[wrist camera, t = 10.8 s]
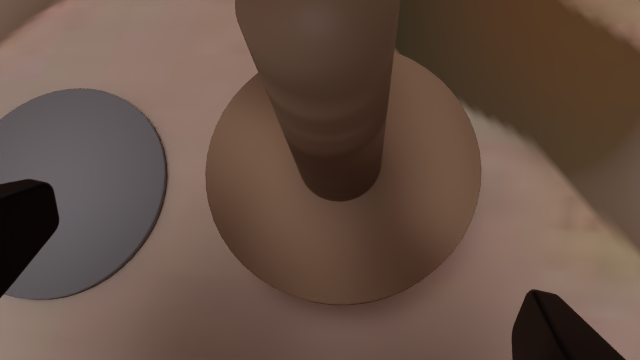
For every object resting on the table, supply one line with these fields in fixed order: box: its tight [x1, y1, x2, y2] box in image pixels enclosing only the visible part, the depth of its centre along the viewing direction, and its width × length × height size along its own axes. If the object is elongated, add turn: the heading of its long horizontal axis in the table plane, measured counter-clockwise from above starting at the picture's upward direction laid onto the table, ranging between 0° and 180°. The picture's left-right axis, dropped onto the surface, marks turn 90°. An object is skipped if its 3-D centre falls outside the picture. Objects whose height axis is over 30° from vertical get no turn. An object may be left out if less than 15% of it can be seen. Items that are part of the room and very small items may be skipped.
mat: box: [0, 88, 167, 300], centre depth 23 cm, size 11×11×1 cm
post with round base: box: [206, 0, 481, 305], centre depth 13 cm, size 10×10×10 cm
